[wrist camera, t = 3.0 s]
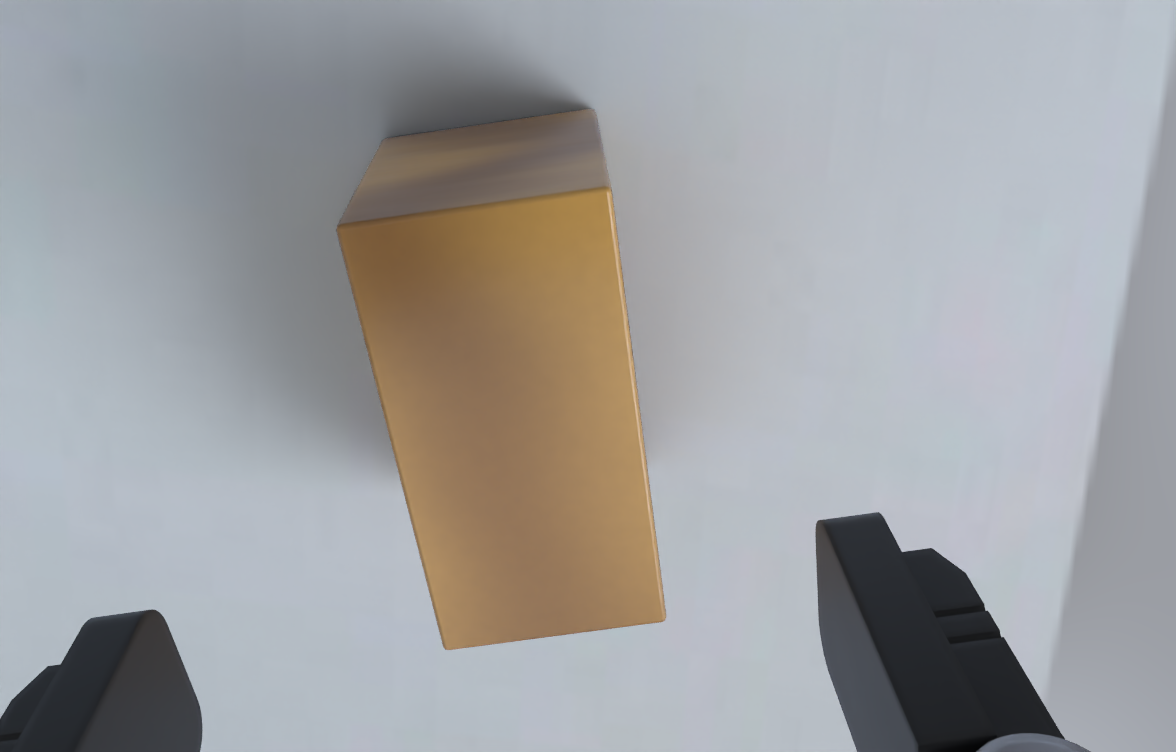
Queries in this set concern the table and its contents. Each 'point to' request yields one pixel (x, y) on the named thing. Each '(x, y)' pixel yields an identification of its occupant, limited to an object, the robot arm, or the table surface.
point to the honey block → (508, 376)
